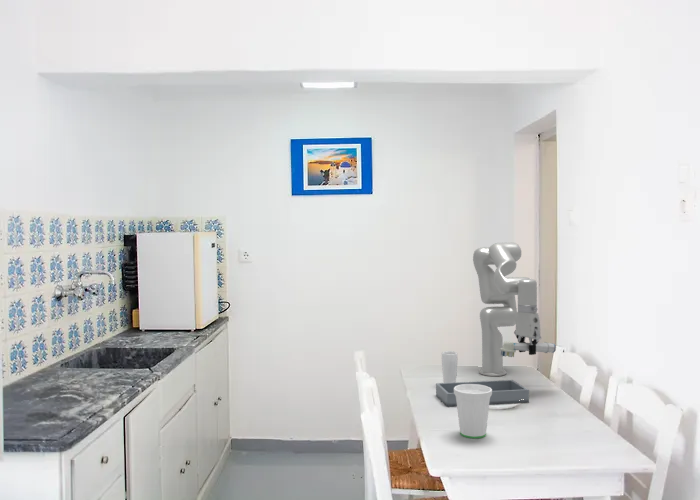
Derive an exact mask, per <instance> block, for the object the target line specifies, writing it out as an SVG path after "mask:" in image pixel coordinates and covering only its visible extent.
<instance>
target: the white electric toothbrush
mask: <svg viewBox="0 0 700 500" xmlns="http://www.w3.org/2000/svg"><path fill="white" fill-rule="evenodd" d="M529 345H530V342H526V343H519V342H513V341H504V342H503V348H501V349H500V350H501V356H503V357H508V358H514V357H515V353H517V352H516V351H519V350H520V351H525V352H529ZM556 350H557V346H556V344H555V343H552V342H546V341H544V342H538V343H537V345H536V353H545V354H548V353H551V354H552V353H553V354H554V353H555V352H556Z"/></svg>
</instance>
